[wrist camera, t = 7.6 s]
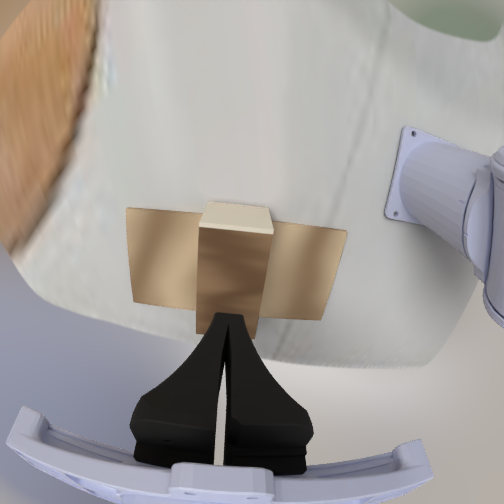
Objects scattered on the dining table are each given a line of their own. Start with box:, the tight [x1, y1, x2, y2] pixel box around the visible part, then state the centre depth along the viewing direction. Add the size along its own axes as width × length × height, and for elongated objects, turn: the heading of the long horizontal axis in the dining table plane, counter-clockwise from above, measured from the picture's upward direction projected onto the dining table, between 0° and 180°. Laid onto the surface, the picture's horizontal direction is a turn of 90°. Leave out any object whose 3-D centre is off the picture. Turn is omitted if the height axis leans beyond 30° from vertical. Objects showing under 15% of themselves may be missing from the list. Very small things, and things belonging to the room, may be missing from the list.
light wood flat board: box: [126, 208, 347, 320], centre depth 23 cm, size 18×9×1 cm, turn 83°
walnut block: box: [196, 201, 274, 339], centre depth 21 cm, size 4×4×9 cm
